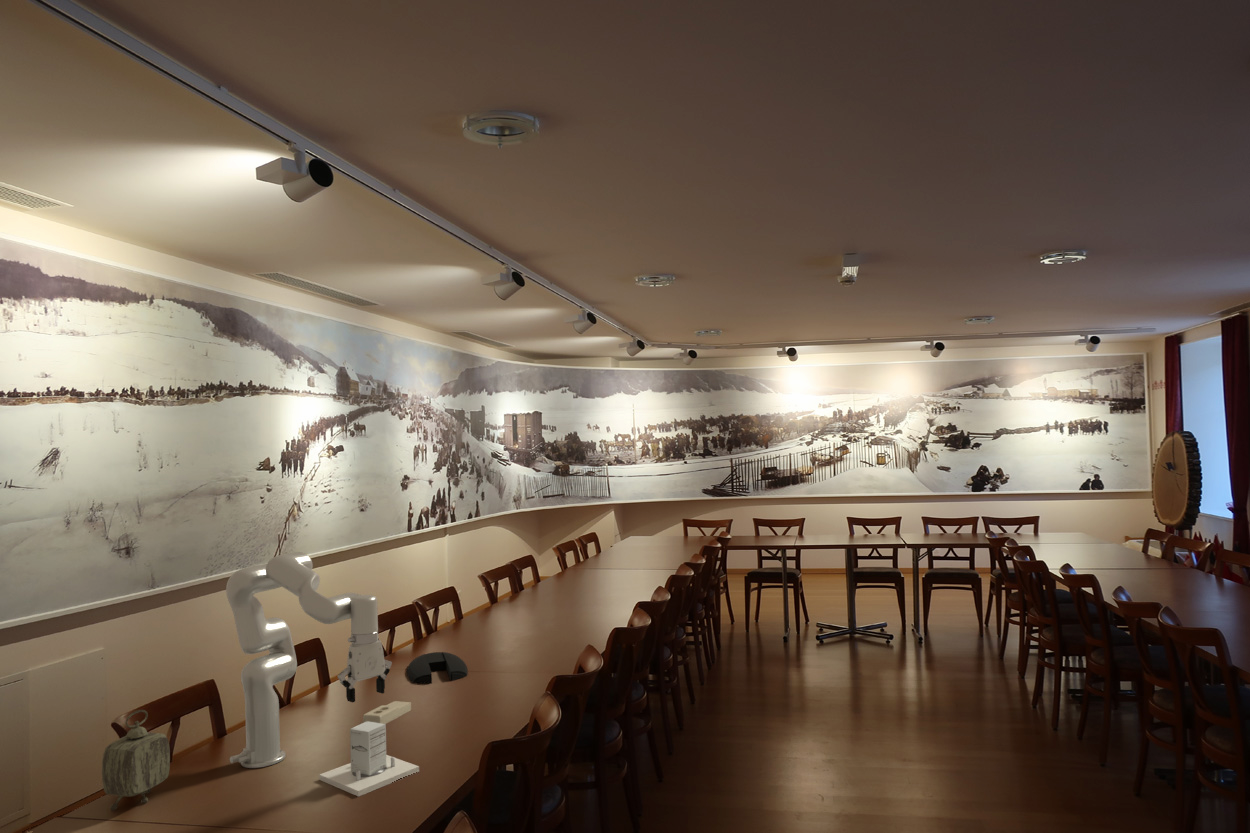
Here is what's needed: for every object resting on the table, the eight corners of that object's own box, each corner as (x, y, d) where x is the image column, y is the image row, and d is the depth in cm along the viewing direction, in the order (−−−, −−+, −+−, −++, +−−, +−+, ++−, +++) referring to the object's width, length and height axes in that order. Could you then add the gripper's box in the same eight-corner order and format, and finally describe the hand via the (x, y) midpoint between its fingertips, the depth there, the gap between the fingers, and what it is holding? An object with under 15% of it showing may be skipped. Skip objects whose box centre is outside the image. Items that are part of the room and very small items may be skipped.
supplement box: (350, 772, 230) (348, 728, 231) (368, 763, 237) (367, 720, 237) (369, 776, 227) (367, 731, 227) (387, 766, 233) (386, 723, 234)
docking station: (460, 656, 366) (460, 645, 367) (472, 679, 328) (471, 667, 328) (404, 663, 358) (404, 652, 359) (409, 687, 320) (409, 675, 320)
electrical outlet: (410, 699, 291) (379, 716, 274) (411, 711, 290) (380, 728, 273) (394, 698, 293) (362, 714, 276) (394, 709, 293) (362, 726, 276)
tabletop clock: (148, 790, 228) (147, 701, 229) (173, 792, 225) (172, 703, 226) (102, 813, 214) (101, 718, 215) (128, 816, 211) (127, 720, 212)
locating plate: (358, 796, 218) (358, 781, 218) (319, 779, 230) (319, 765, 230) (419, 771, 233) (418, 757, 233) (379, 757, 246) (379, 743, 246)
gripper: (345, 646, 225) (346, 707, 225) (397, 633, 239) (398, 691, 238) (330, 642, 230) (332, 702, 229) (383, 630, 243) (384, 687, 243)
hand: (366, 696), depth 234 cm, fingers open, 9 cm apart
